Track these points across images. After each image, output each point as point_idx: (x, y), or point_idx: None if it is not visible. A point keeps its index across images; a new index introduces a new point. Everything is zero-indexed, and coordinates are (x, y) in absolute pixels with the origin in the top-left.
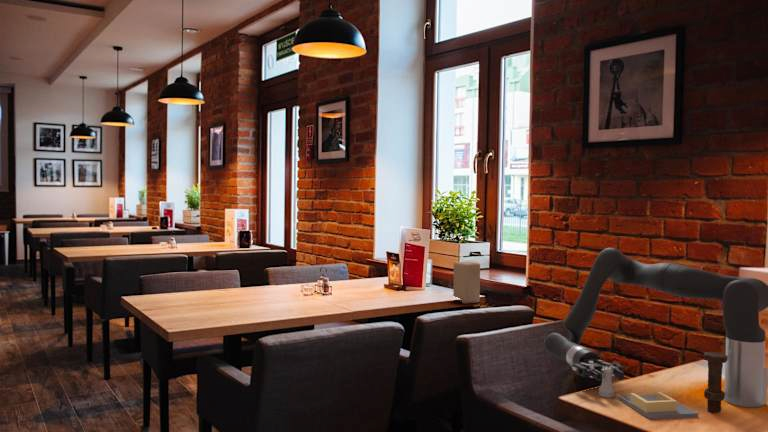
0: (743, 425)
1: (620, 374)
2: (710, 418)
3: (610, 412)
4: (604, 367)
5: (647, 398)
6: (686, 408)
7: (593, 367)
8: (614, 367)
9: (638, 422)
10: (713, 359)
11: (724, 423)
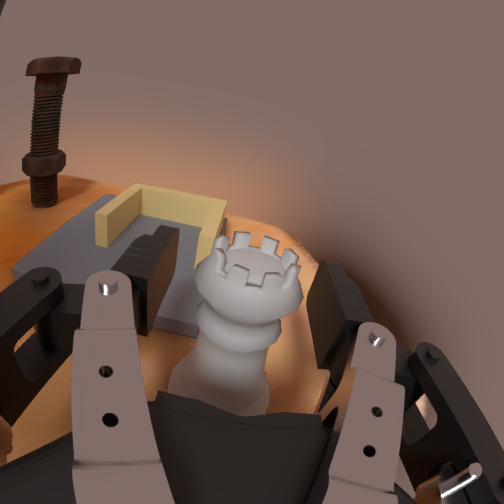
0: (82, 178)
1: (175, 244)
2: (91, 196)
3: (303, 277)
4: (291, 253)
5: (103, 270)
6: (95, 207)
7: (358, 358)
8: (120, 289)
9: (263, 230)
10: (80, 66)
11: (98, 185)
